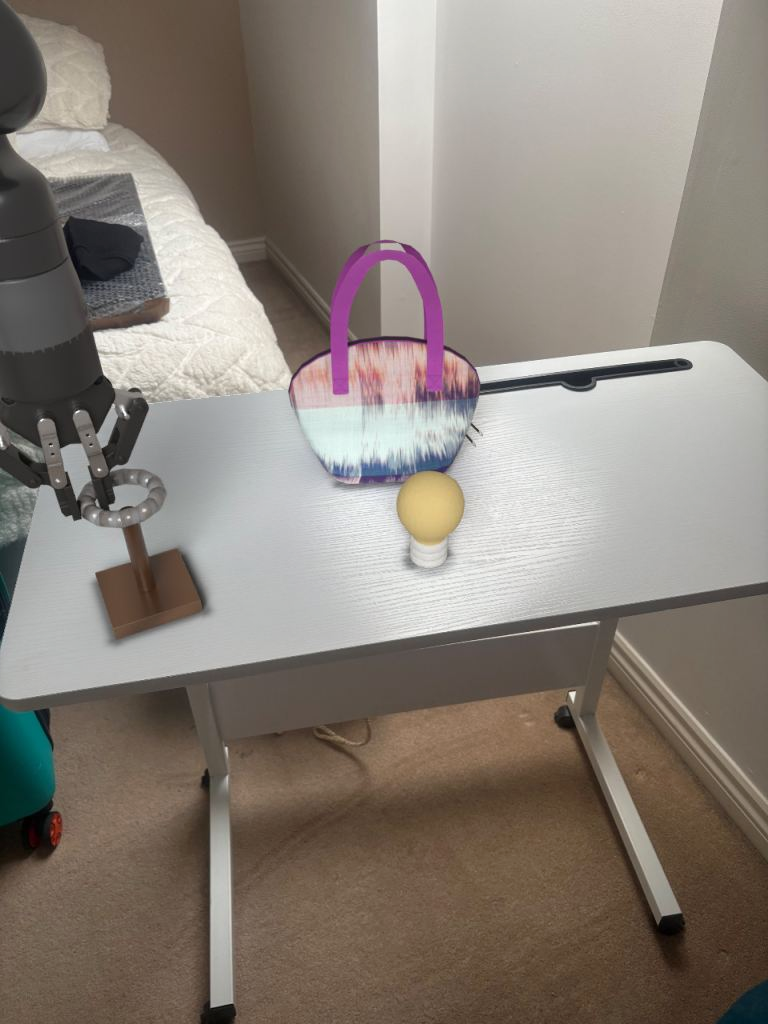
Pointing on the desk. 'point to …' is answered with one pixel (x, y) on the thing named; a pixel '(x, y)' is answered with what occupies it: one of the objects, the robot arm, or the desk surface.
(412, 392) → the handbag
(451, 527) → the light bulb
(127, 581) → the stand
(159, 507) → the grey beaded ring
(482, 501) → the desk surface
